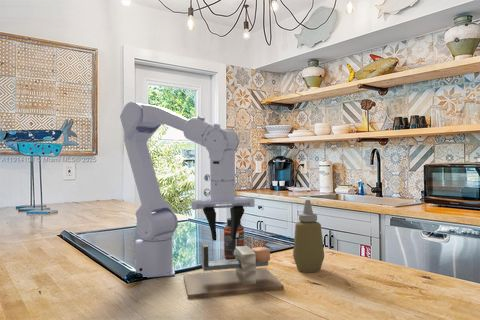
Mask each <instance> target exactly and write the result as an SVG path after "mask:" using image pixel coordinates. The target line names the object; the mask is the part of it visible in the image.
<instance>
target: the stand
mask: <svg viewBox="0 0 480 320" xmlns="http://www.w3.org/2000/svg"><path fill="white" fill-rule="evenodd" d="M251 249H252V248H250V247H249V246H248V245H244V246H238V247H235V255H236V259H239V261H240V262H241V268H235V269H234V270H223V271H222V270H221V271H209V272H199V273H188V274H183V281H184V286H185V289H186V290H185V291H186V295H187V299H197V298H198V299H200V298H208V297H219V296H228V295H229V296H230V295H237V294H250V293H260V292H268V291H269V292H270V291H280V290H284V289H285V286H284V284H283V283H281V281H280V280H279V279H278V278H276V276H275V275H274V274H273V273H272V272H271V271H270V270H269V269H268V268H267V267H260V268H257V267H256V254H255V253H254V252H253V251H252V250H251Z"/></svg>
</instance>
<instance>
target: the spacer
mask: <svg viewBox="0 0 480 320" xmlns="http://www.w3.org/2000/svg"><path fill="white" fill-rule="evenodd" d="M250 249H251V250H252V251H253V252H254V253H255V254H256V262H267V261H268V262H270V261H271V248H268V247H264V246H258V247H257V246H256V247H252V248H250Z"/></svg>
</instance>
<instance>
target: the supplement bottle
mask: <svg viewBox="0 0 480 320" xmlns="http://www.w3.org/2000/svg"><path fill="white" fill-rule="evenodd" d="M241 220H242V219H241ZM241 220H240V222H239V225H238V229H237V233H236V239H232V238H231V217H229V218H227V220H226V225H225V226H224V227H223V249H224V250H223V252H224V253H223V254H224V257H225V258H228V259H236V255H235V247H238V246H245V228H244V226H243V225H242V224H241Z"/></svg>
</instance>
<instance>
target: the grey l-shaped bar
mask: <svg viewBox="0 0 480 320" xmlns="http://www.w3.org/2000/svg"><path fill="white" fill-rule="evenodd" d="M200 244H201V245H200V247H201V249H200V253H201V254H200V255H201V256H200V258H201V268H202V270H203V272H206V271H207V272H208V271H209V272H210V271H218V270H219V271H220V270H221V271H222V270H230V269H231V270H232V269H236V268H241V262H240V261H239V259H232V258H229V259H222V260H221V259H220V260H209V246H208V244H207V242H206V241H201V242H200ZM268 266H269V261H267V262H256V268H257V267H268Z"/></svg>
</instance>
